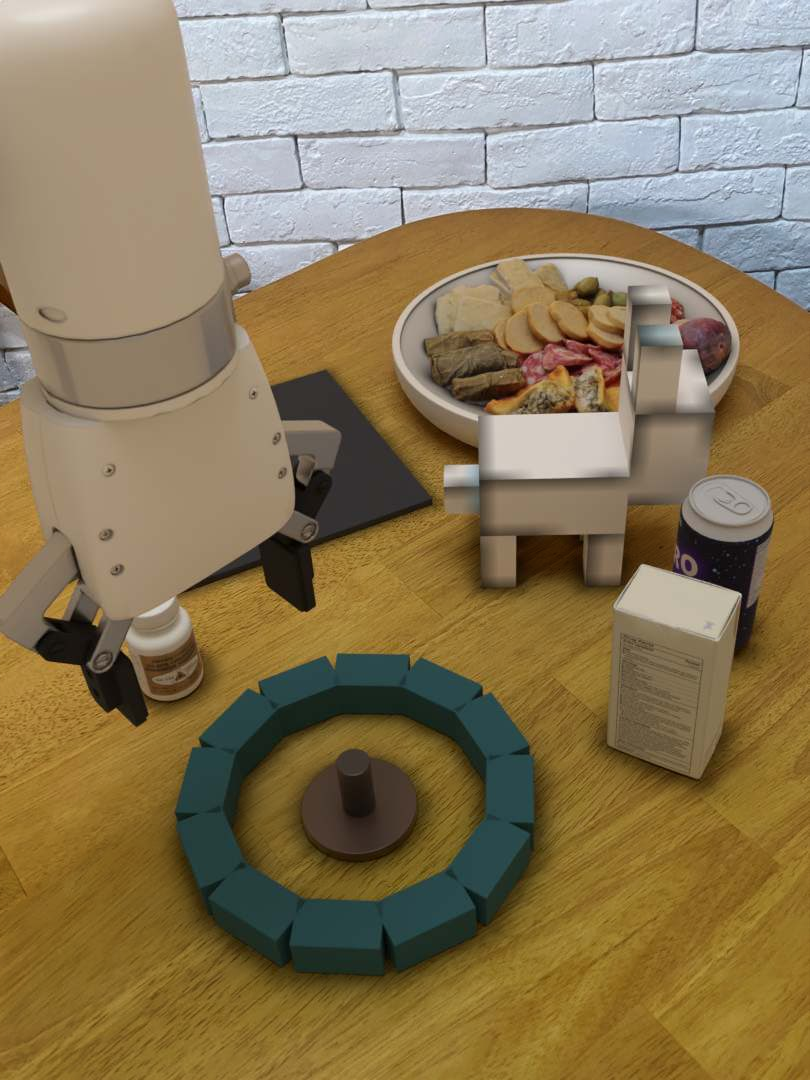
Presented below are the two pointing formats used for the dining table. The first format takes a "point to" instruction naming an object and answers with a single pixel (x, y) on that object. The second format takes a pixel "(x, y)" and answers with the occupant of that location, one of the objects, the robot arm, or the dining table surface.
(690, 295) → the bowl
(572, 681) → the dining table surface
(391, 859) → the dining table surface
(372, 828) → the ring stand
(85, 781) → the dining table surface
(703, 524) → the beverage can
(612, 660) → the cosmetic box
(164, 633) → the pill bottle
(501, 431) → the toy llama
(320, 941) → the ring
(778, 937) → the dining table surface
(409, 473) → the mat
